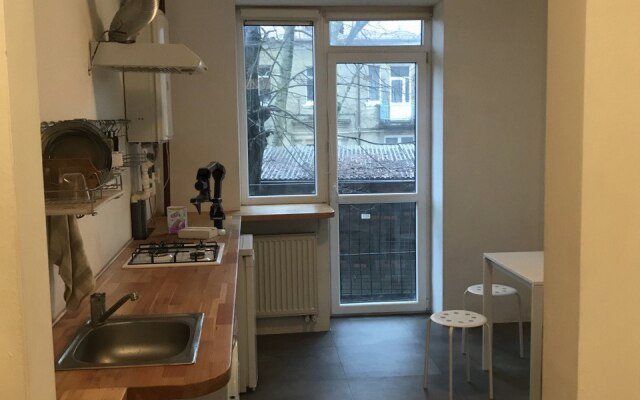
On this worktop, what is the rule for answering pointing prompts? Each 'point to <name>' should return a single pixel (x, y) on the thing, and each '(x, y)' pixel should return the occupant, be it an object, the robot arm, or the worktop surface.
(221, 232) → the cream dish
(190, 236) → the small cream bookshelf
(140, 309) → the worktop surface
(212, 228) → the flap
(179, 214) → the candy bar box
